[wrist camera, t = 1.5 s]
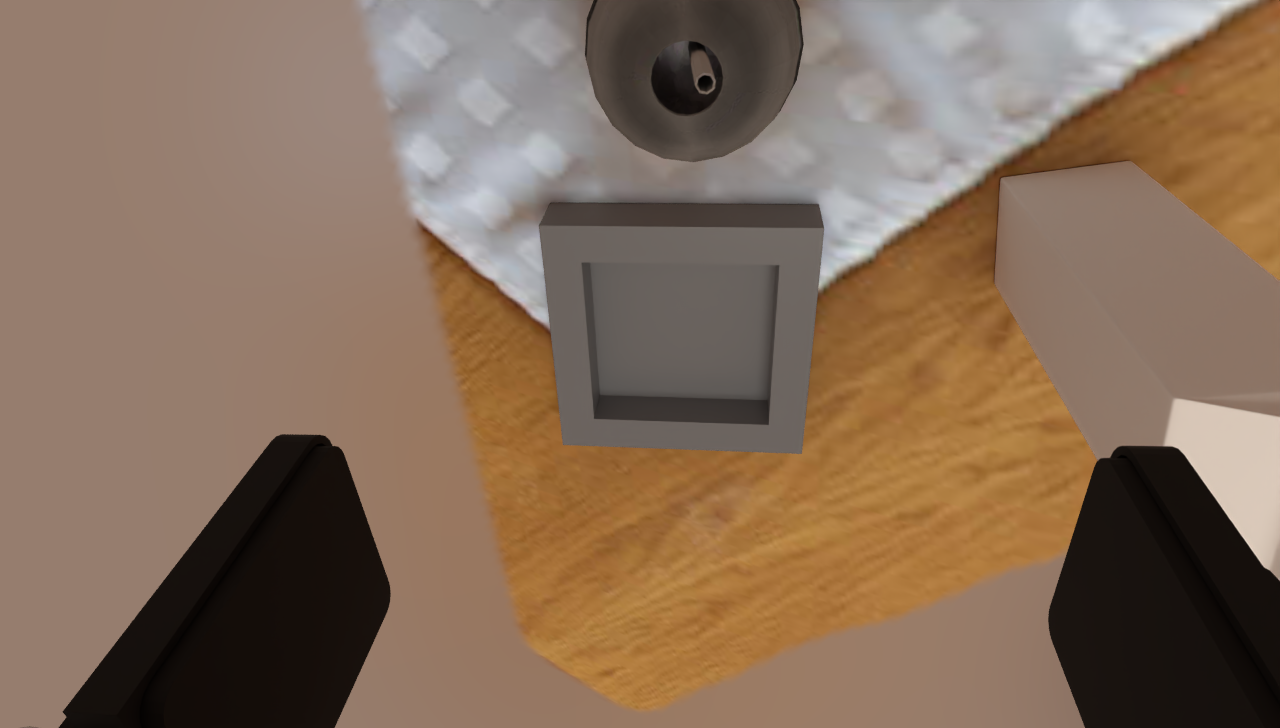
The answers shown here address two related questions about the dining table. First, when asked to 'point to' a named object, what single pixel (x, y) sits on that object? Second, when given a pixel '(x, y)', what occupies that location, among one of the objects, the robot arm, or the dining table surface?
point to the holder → (682, 322)
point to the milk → (1150, 329)
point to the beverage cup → (693, 70)
